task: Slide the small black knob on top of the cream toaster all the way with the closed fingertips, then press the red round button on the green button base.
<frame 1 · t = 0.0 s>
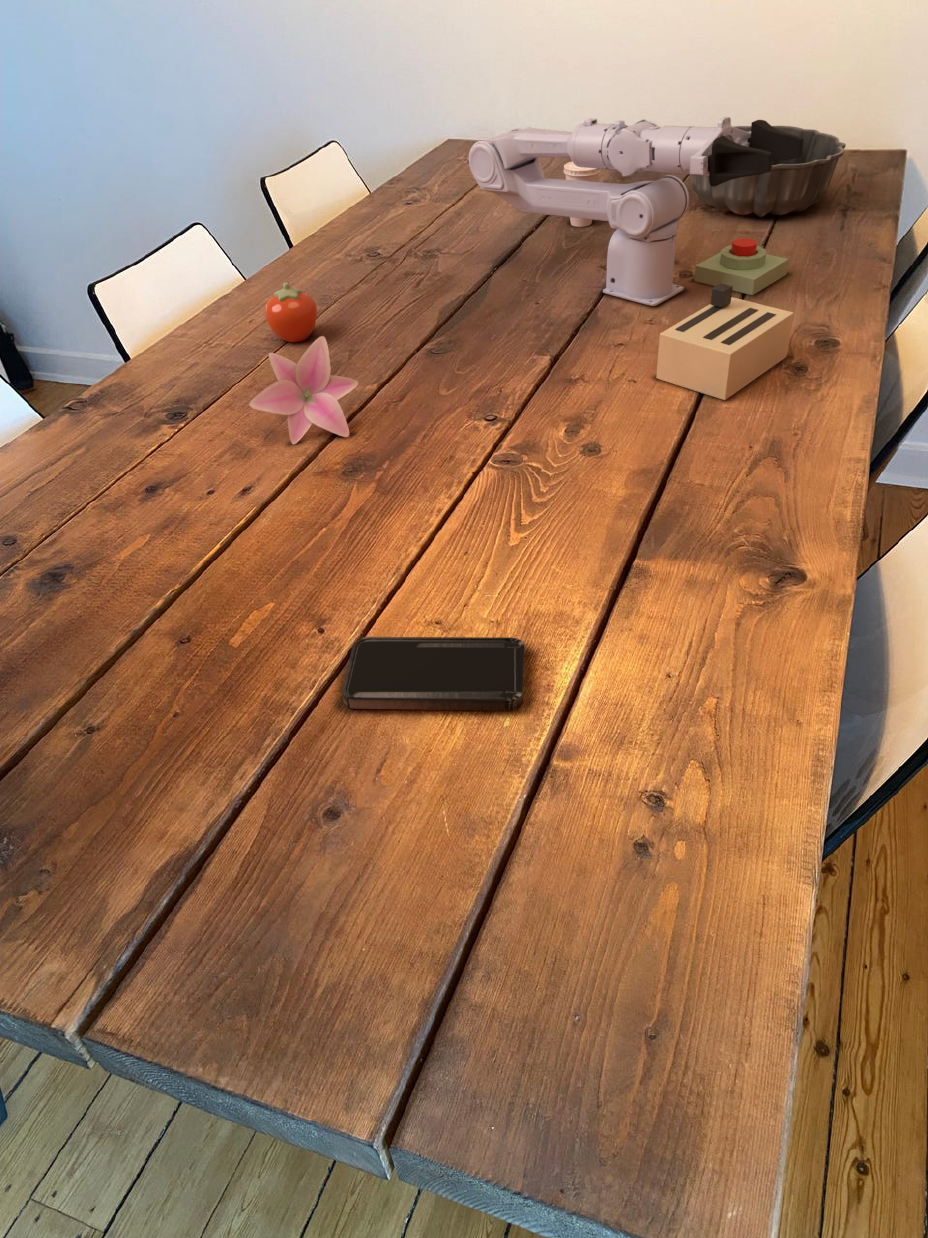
hand: (786, 154, 118), 22 cm above the table, tool horizontal, fingers open, 7 cm apart
lily: (312, 429, 116), on the table
phone: (435, 678, 81), on the table
timer button: (744, 248, 142), point 4 cm above the table, slide at 0.1 cm
slider: (721, 295, 121), point 7 cm above the table, slide at 0.0 cm
smoothie: (581, 224, 168), on the table
bundt pan: (757, 203, 171), on the table
toaster: (721, 367, 122), on the table
tomato: (295, 338, 138), on the table
green button base: (740, 277, 145), on the table
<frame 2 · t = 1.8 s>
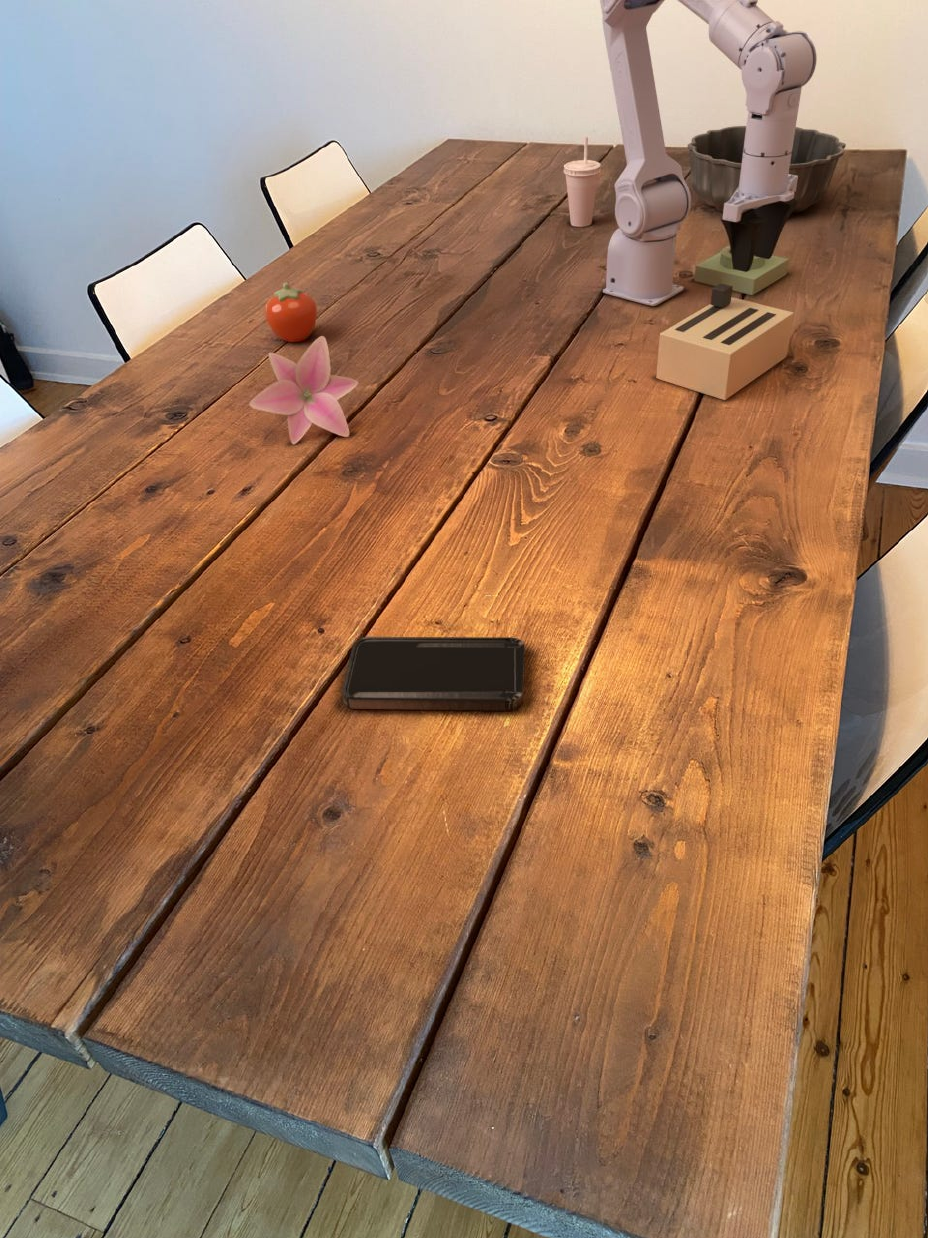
hand: (752, 263, 124), 9 cm above the table, tool pointing down, fingers open, 5 cm apart
nothing on the table moved.
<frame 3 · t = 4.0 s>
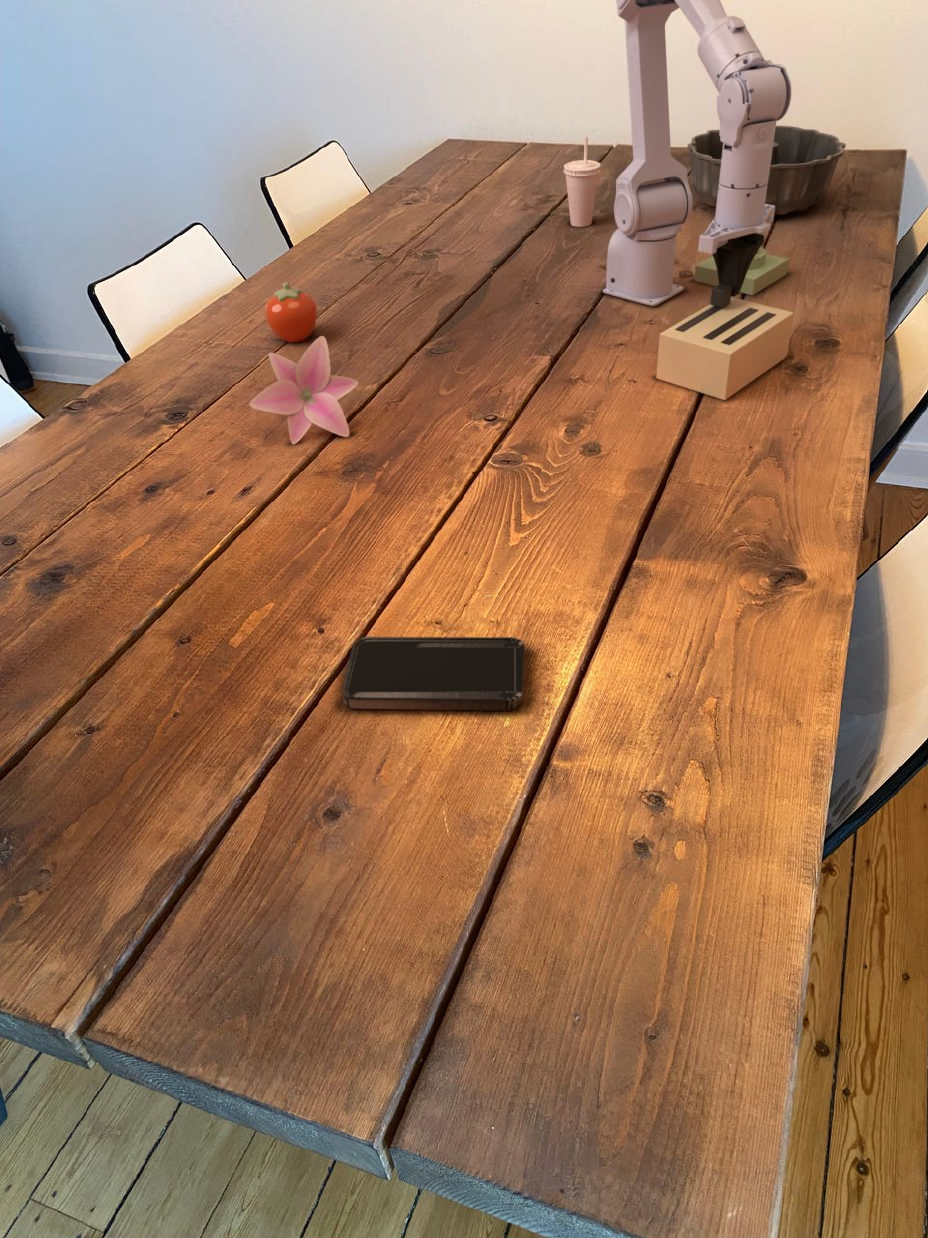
hand: (729, 293, 123), 7 cm above the table, tool pointing down, fingers closed
slider: (721, 295, 121), point 7 cm above the table, slide at 0.1 cm, touching gripper
everything else where it was.
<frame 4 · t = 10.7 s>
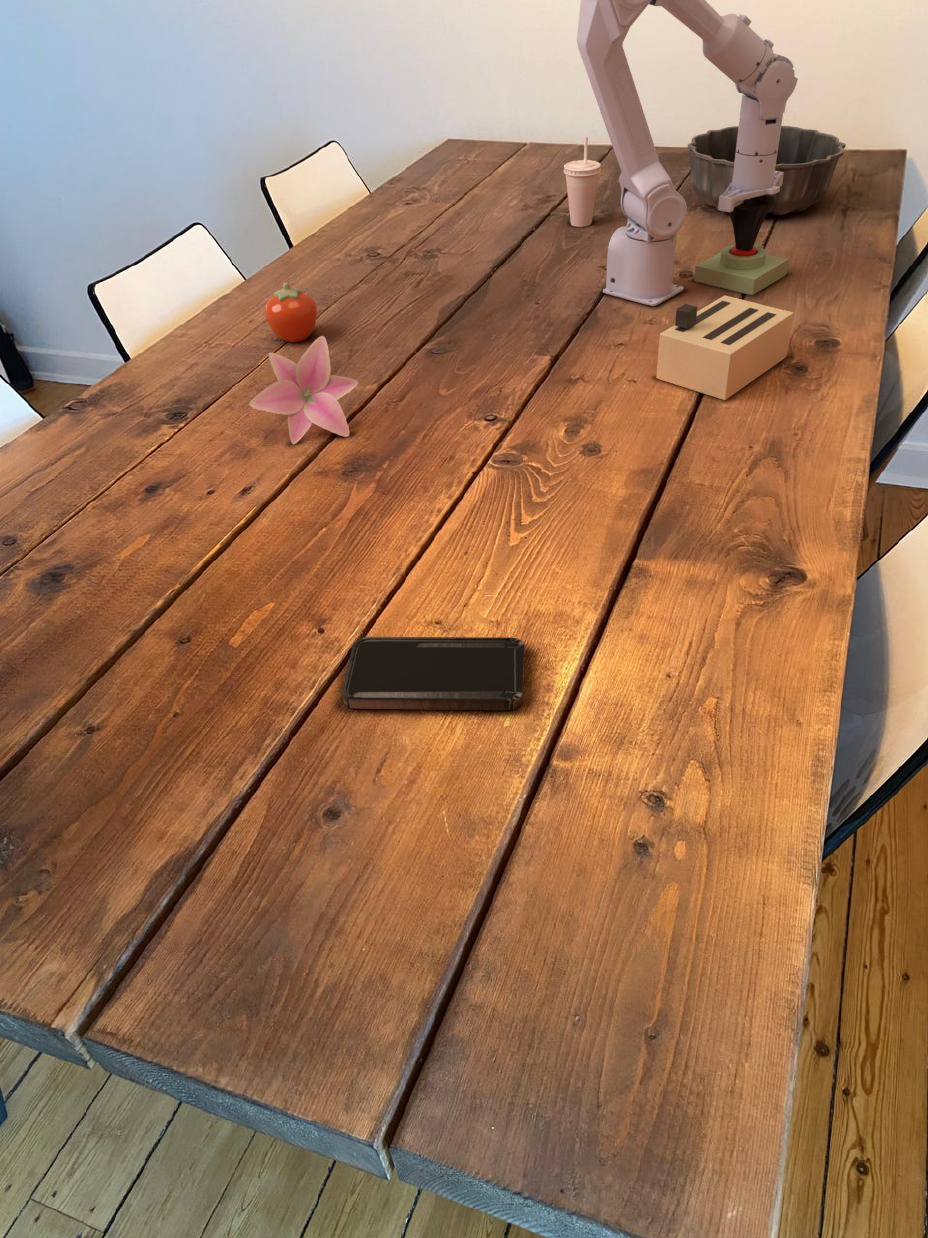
hand: (744, 248, 142), 4 cm above the table, tool pointing down, fingers closed, pressing on timer button
timer button: (743, 254, 142), point 4 cm above the table, slide at -0.8 cm, touching gripper
slider: (686, 316, 117), point 7 cm above the table, slide at 8.1 cm
everything else where it was.
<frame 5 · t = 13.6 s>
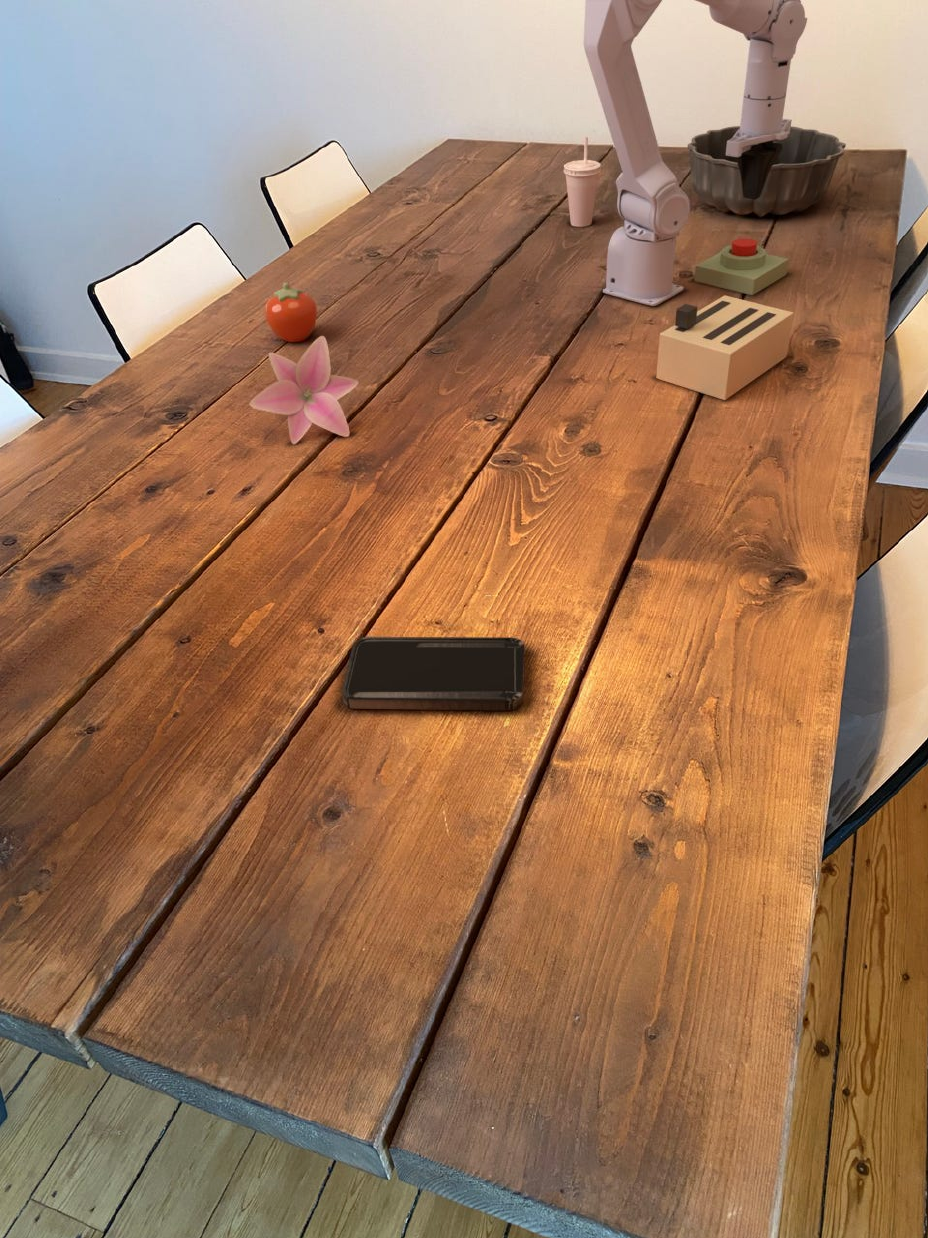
hand: (751, 197, 141), 10 cm above the table, tool pointing down, fingers closed
timer button: (744, 248, 142), point 4 cm above the table, slide at 0.1 cm
everything else where it was.
at the end: slider slide at 8.1 cm; timer button pushed in 1.0 cm at the most during the clip, back to where it started at the end; timer button slide at 0.1 cm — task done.
